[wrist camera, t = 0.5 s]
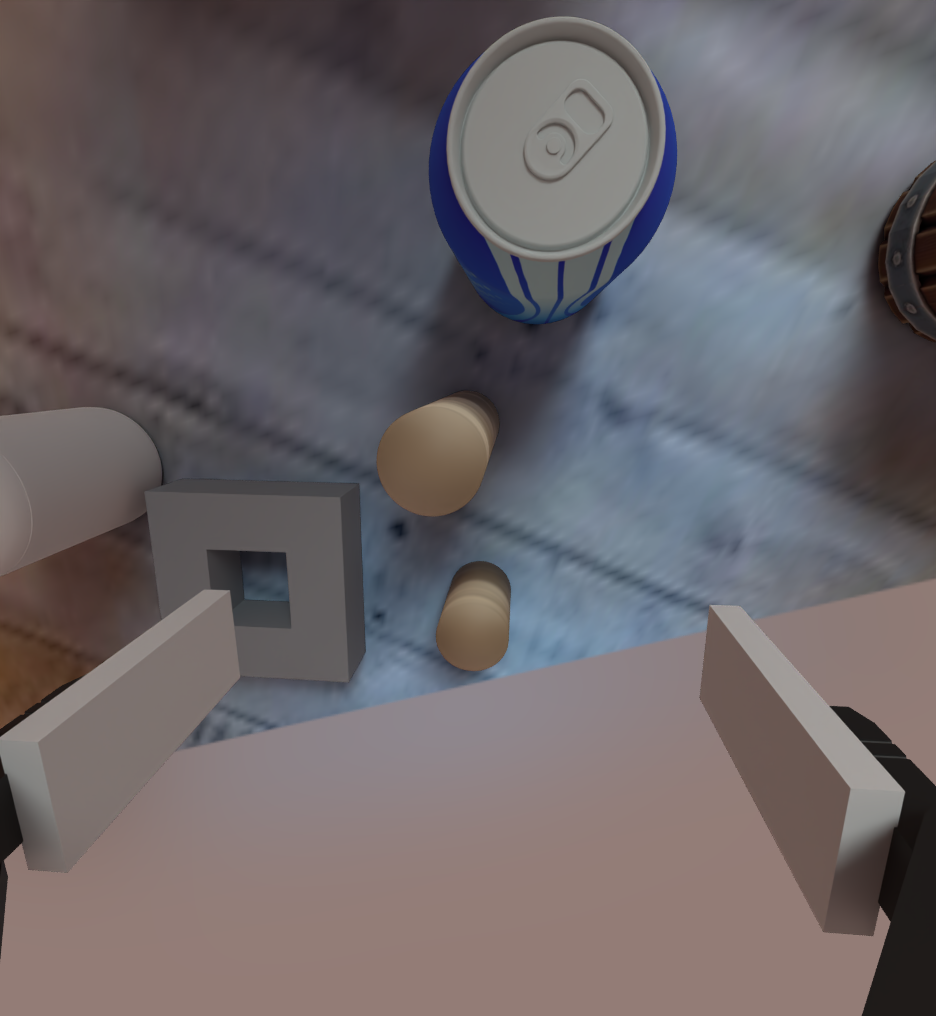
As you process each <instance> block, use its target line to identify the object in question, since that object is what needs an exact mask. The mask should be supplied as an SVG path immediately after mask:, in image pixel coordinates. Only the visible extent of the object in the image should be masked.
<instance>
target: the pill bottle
mask: <svg viewBox="0 0 936 1016" xmlns="http://www.w3.org/2000/svg"><path fill="white" fill-rule="evenodd" d="M161 483H162V465H161V460H160V457H159V454H158V451H157V449H156V447H155V445H154V443H153V441H152V440H151V438H150V437H149V435H148V434H147V433H146V432H145V431H144V430H143V429H142V428H141V427H140V426H139V425H138V424H137V423H136V422H135V421H133V420H132V419H130V418H129V417H127V416H125V415H123V414H121V413H119V412H117V411H114V410H111V409H106V408H100V407H79V408H70V409H61V410H51V411H42V412H33V413H24V414H15V415H5V416H0V576H3V575H5V574H8V573H10V572H13V571H15V570H17V569H20V568H22V567H24V566H27V565H29V564H32V563H34V562H36V561H39V560H41V559H43V558H46V557H48V556H51V555H53V554H55V553H58V552H60V551H63V550H65V549H67V548H70V547H72V546H74V545H77V544H79V543H82V542H84V541H86V540H89V539H91V538H93V537H96V536H98V535H101V534H103V533H105V532H108V531H110V530H113V529H115V528H117V527H120V526H122V525H124V524H127V523H129V522H131V521H133V520H135V519H136V518H138V517H140V516H141V515H143V514H144V513H145V512H146V511H147V508H146V501H145V493H144V491H147V490H150V489H153V488H156V487H159V486H161Z"/></svg>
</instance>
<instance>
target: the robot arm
mask: <svg viewBox="0 0 936 1016" xmlns="http://www.w3.org/2000/svg"><path fill="white" fill-rule="evenodd" d="M239 678H240V671H239V663H238V654H237V646H236V638H235V629H234V621H233V612H232V604H231V596H230V590H203V591H201V592H200V593H199V594H197V595H196V596H194V597H193V598H192V599H190V600H189V601H188V602H186V603H185V604H183V605H182V606H181V607H179V608H178V609H176V610H175V611H174V612H172V613H171V614H170V615H168V616H167V617H165V618H164V619H163V620H161V621H160V622H158V623H157V624H156V625H154V626H153V627H152V628H150V629H149V630H147V631H146V632H145V633H143V634H142V635H141V636H139V637H138V638H136V639H135V640H134V641H132V642H131V643H129V644H128V645H127V646H125V647H124V648H123V649H121V650H120V651H118V652H117V653H116V654H114V655H113V656H111V657H110V658H109V659H107V660H106V661H105V662H103V663H102V664H100V665H99V666H98V667H96V668H95V669H94V670H92V671H91V672H89V673H88V674H86V675H84V676H82V677H80V678H77V679H75V680H73V681H71V682H69V683H67V684H64V685H62V686H61V687H59V688H58V689H56V690H55V691H53V692H52V693H51V694H49V695H48V696H46V697H45V698H44V699H42V700H41V703H37V704H35V705H34V706H32V707H31V708H29V709H28V710H27V711H25V714H24V715H20V716H18V717H17V718H15V719H14V720H13V721H11V722H10V723H8V724H7V725H5V726H4V727H3V728H1V729H0V956H1V946H2V935H3V924H4V913H5V902H6V890H7V880H8V875H7V872H6V868H5V864H4V859H6V858H7V856H9V855H10V854H11V853H12V852H13V851H14V850H15V849H16V848H17V847H18V846H19V845H20V844H21V843H22V846H23V849H24V854H25V858H26V861H27V866H28V870H38V871H51V872H64V873H68V872H69V870H70V869H71V868H72V867H73V866H74V865H75V864H76V862H77V861H78V860H79V859H80V858H81V857H82V856H83V855H84V853H85V852H86V851H87V850H88V849H89V848H90V847H91V846H92V844H93V843H94V842H95V841H96V840H97V839H98V838H99V837H100V835H101V834H102V833H103V832H104V831H105V830H106V829H107V827H108V826H109V825H110V824H111V823H112V822H113V820H115V818H116V817H117V816H118V815H119V814H120V813H121V812H122V811H123V809H124V808H125V807H126V806H127V805H128V804H129V803H130V801H131V800H132V799H133V798H134V797H135V796H136V795H137V793H138V792H139V791H140V790H141V789H142V788H143V787H144V786H145V784H146V783H147V782H148V781H149V780H150V779H151V778H152V776H153V775H154V774H155V773H156V772H157V771H158V770H159V768H160V767H161V766H162V765H163V764H164V763H165V762H166V761H167V760H168V758H169V757H170V756H171V755H172V754H173V753H174V752H175V751H176V750H177V748H178V747H179V746H180V745H181V744H182V743H183V742H184V740H185V739H186V738H187V737H188V736H189V735H190V734H191V733H192V731H193V730H194V729H195V728H196V727H197V726H198V725H199V724H200V722H201V721H202V720H203V719H204V718H205V717H206V716H207V714H208V713H209V712H210V711H211V710H212V709H213V708H214V707H215V705H216V704H217V703H218V702H219V701H220V700H221V699H222V698H223V696H224V695H225V694H226V693H227V692H228V691H229V690H230V689H231V687H232V686H233V685H234V684H235V683H236V682H237V681H238V679H239ZM700 700H701V702H702V704H703V705H704V707H705V709H706V711H707V713H708V715H709V717H710V719H711V720H712V723H713V724H714V726H715V728H716V730H717V732H718V734H719V736H720V737H721V739H722V741H723V743H724V745H725V747H726V749H727V751H728V753H729V755H730V757H731V758H732V760H733V762H734V764H735V766H736V768H737V770H738V772H739V773H740V775H741V777H742V779H743V781H744V783H745V785H746V787H747V789H748V791H749V792H750V794H751V796H752V798H753V800H754V802H755V804H756V806H757V808H758V810H759V811H760V813H761V815H762V817H763V819H764V821H765V823H766V825H767V827H768V828H769V830H770V832H771V834H772V836H773V838H774V840H775V842H776V844H777V846H778V847H779V849H780V851H781V853H782V855H783V856H784V859H785V861H786V863H787V864H788V866H789V868H790V870H791V872H792V874H793V876H794V878H795V880H796V882H797V883H798V885H799V887H800V889H801V891H802V893H803V895H804V897H805V899H806V900H807V902H808V904H809V906H810V908H811V910H812V912H813V914H814V915H815V917H816V919H817V921H818V923H819V925H820V927H821V929H822V931H823V932H828V933H841V934H853V935H866V936H873V935H874V930H875V926H876V921H877V917H878V912H879V908H880V906H881V908H882V909H883V911H884V912H885V913H886V915H887V916H888V918H889V920H890V921H891V923H890V926H889V930H888V933H887V936H886V939H885V943H884V946H883V949H882V953H881V956H880V959H879V962H878V965H877V968H876V972H875V975H874V978H873V981H872V985H871V988H870V991H869V995H868V997H867V1001H866V1004H865V1007H864V1011H863V1014H862V1016H936V786H935V785H934V784H933V783H932V782H931V781H930V780H929V779H928V778H927V777H926V776H925V775H924V773H923V772H922V771H921V770H920V769H919V768H917V766H916V765H915V764H914V763H913V762H912V761H911V760H909V759H906V755H905V754H904V753H903V752H902V751H901V750H900V749H899V748H898V747H897V746H896V745H895V744H892V742H891V740H890V739H889V738H888V737H887V735H886V734H885V733H884V732H883V731H882V730H881V729H880V728H879V727H878V726H877V725H876V724H875V723H874V722H872V721H870V720H869V719H867V718H866V717H864V716H862V715H861V714H859V713H858V712H856V711H854V710H853V709H851V708H849V707H838V706H828V704H827V703H826V702H825V701H824V700H823V699H822V698H821V697H820V695H819V694H818V693H817V692H816V691H815V690H814V689H813V688H812V686H811V685H810V684H809V683H808V682H807V681H806V680H805V679H804V677H803V676H802V675H801V674H800V673H799V672H798V671H797V670H796V669H795V667H794V666H793V665H792V664H791V663H790V662H789V661H788V659H787V658H786V657H785V656H784V655H783V654H782V653H781V652H780V650H779V649H778V648H777V647H776V646H775V645H774V644H773V643H772V642H771V640H770V639H769V638H768V637H767V636H766V635H765V634H764V633H763V632H762V630H761V629H760V628H759V627H758V626H757V625H756V623H755V622H754V621H753V620H752V619H751V618H750V617H749V616H748V614H747V613H746V612H745V611H744V610H743V609H742V608H741V607H740V606H725V605H710V606H709V615H708V625H707V634H706V644H705V653H704V661H703V671H702V681H701V689H700Z"/></svg>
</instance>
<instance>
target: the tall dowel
mask: <svg viewBox="0 0 936 1016" xmlns="http://www.w3.org/2000/svg"><path fill="white" fill-rule="evenodd" d="M498 431H499V415H498V412H497V410H496V408H495V406H494V404H493V403H492V402H491V401H490V400H489V399H488V398H487V397H486V396H484V395H482V394H480V393H478V392H475V391H460V392H456V393H454V394H451V395H449V396H447V397H444V398H442V399H439V400H437V401H435V402H432V403H430V404H428V405H425V406H423V407H420V408H418V409H416V410H413V411H411V412H409V413H407V414H405V415H403V416H401V417H400V418H398V419H397V420H395V421H394V422H393V423H392V424H391V425H390V426H389V428H388V429H387V430H386V432H385V433H384V435H383V437H382V439H381V441H380V444H379V447H378V452H377V470H378V475H379V478H380V481H381V483H382V485H383V487H384V489H385V491H386V492H387V493H388V495H389V496H390V497H391V498H392V499H393V500H394V501H395V502H396V503H397V504H398V505H400V506H401V507H402V508H404V509H406V510H408V511H410V512H412V513H415V514H418V515H423V516H442V515H446V514H450V513H452V512H454V511H457V510H458V509H460V508H462V507H463V506H464V505H466V504H467V503H468V502H469V501H470V500H471V499H472V498H473V497H474V495H475V494H476V492H477V491H478V489H479V487H480V485H481V482H482V479H483V476H484V473H485V470H486V467H487V464H488V461H489V458H490V455H491V452H492V449H493V446H494V443H495V440H496V437H497V434H498Z"/></svg>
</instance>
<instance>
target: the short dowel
mask: <svg viewBox="0 0 936 1016" xmlns="http://www.w3.org/2000/svg"><path fill="white" fill-rule="evenodd" d="M510 597H511V586H510V582H509V579H508V577H507V576H506V574H505V573H504V572H503V570H501V569H500V568H499V567H498V566H496V565H494V564H492V563H489V562H484V561H476V562H471V563H468V564H466V565H464V566H463V567H461V568H460V569H459V570H458V571H457V572H456V574H455V575H454V577H453V580H452V583H451V586H450V589H449V592H448V595H447V598H446V601H445V605H444V608H443V611H442V614H441V617H440V620H439V623H438V627H437V631H436V642H437V646H438V648H439V651H440V652H441V654H442V655H443V657H444V658H445V659H446V660H447V661H448V662H449V663H451V664H452V665H454V666H456V667H458V668H460V669H463V670H468V671H480V670H484V669H487V668H490V667H492V666H494V665H495V664H496V663H498V662H499V661H500V660H501V659H502V657H503V656H504V654H505V653H506V650H507V647H508V641H509V620H510Z"/></svg>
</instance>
